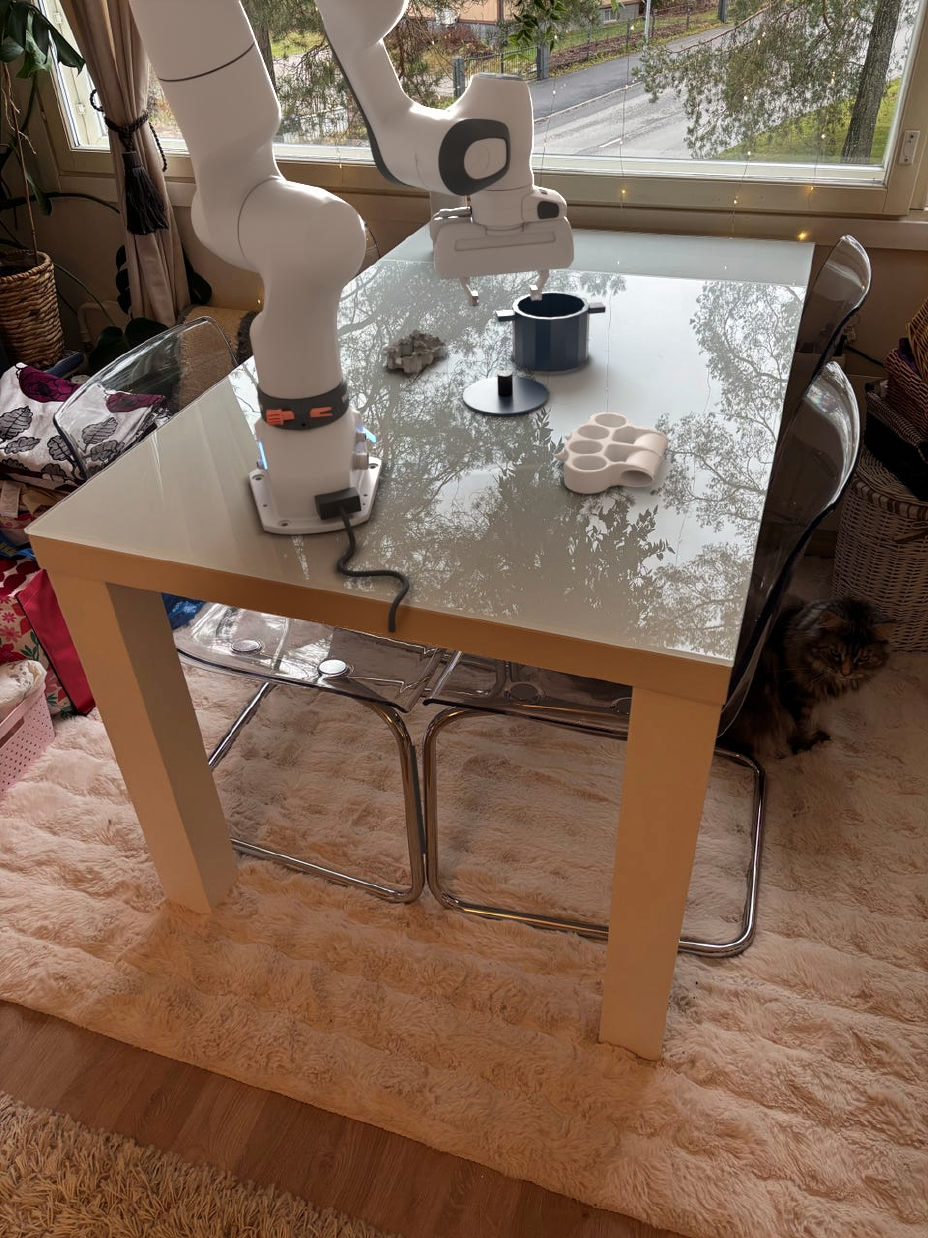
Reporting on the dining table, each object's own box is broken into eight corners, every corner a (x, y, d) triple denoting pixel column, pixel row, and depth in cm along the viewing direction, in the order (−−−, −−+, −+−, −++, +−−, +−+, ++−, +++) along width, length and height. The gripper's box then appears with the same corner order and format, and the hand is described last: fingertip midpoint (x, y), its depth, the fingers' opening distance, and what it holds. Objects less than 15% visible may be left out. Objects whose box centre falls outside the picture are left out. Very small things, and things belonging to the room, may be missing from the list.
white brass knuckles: (647, 503, 122) (540, 487, 127) (671, 440, 135) (573, 428, 140) (649, 481, 120) (540, 466, 124) (673, 419, 133) (574, 407, 137)
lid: (555, 415, 143) (556, 387, 140) (468, 423, 142) (467, 395, 139) (539, 378, 154) (539, 351, 151) (458, 386, 153) (456, 359, 150)
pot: (610, 369, 155) (613, 313, 149) (504, 379, 154) (503, 323, 148) (593, 340, 165) (595, 287, 159) (492, 349, 164) (491, 296, 158)
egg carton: (413, 378, 156) (411, 355, 154) (379, 369, 160) (376, 346, 157) (451, 356, 163) (450, 333, 160) (417, 347, 166) (415, 325, 164)
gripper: (430, 217, 127) (437, 316, 135) (578, 203, 128) (575, 303, 137) (426, 204, 132) (433, 301, 140) (568, 191, 133) (566, 288, 142)
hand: (504, 302), depth 138 cm, fingers open, 8 cm apart
